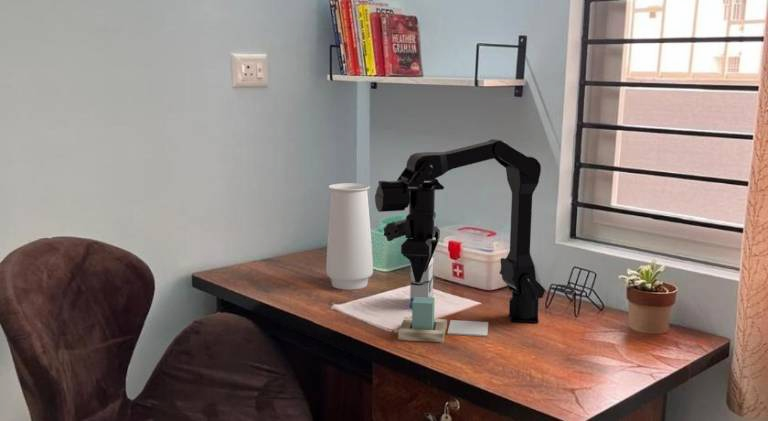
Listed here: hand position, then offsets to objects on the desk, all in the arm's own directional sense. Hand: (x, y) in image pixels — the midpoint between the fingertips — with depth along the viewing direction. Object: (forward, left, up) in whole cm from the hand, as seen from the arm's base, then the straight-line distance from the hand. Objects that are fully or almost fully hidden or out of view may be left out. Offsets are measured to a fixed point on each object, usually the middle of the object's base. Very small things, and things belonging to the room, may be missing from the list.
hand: (420, 276), depth 172 cm
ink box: (+2, -20, -13) cm, 24 cm away
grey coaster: (-11, -3, -13) cm, 17 cm away
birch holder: (-1, +2, -13) cm, 13 cm away
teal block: (-1, +2, -13) cm, 13 cm away
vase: (+24, -34, -13) cm, 43 cm away
